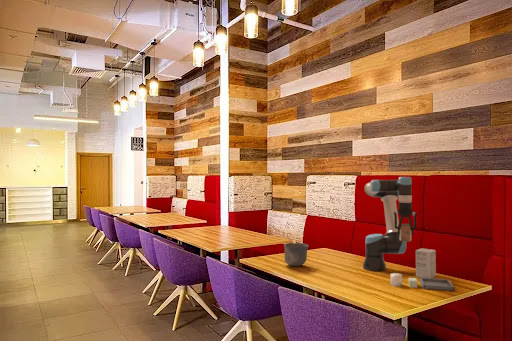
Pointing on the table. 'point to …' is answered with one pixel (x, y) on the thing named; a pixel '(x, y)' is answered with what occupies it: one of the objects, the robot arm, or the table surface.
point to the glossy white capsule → (396, 279)
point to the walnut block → (405, 232)
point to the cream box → (413, 282)
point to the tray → (437, 284)
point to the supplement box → (425, 263)
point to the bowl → (295, 253)
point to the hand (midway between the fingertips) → (405, 240)
